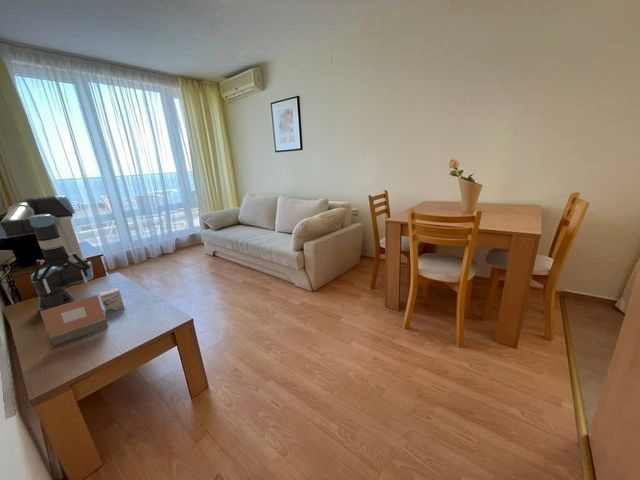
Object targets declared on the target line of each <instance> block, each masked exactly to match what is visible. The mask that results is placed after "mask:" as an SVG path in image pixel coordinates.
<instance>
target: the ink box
mask: <svg viewBox="0 0 640 480" xmlns="http://www.w3.org/2000/svg"><path fill="white" fill-rule="evenodd" d="M99 297H100V299H101V302H102V306H103V308H104V312H105V314H110V313H113V312H116V311H119V310H120V311H121V310H122V309H123V310H124V309H125V304H124V302H123V299H122V295H121V293H120V290H119V287H115V288H111V289H107V290H105V291H101V292H99Z"/></svg>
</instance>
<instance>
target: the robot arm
mask: <svg viewBox="0 0 640 480" xmlns="http://www.w3.org/2000/svg"><path fill="white" fill-rule="evenodd" d="M75 213H76V212H75V209H74V207H73V204H72V203H71V201H70V199H69V198H68V197H67V196H65V195H51V196H50V195H48V196H37V197H29V198H24V199H21V200H19V201H16V202H14V203H12V204H11V205H10V206H9V207H8V208H7V213H6V214H5V216H4V217H3V218H2V219H1V220H0V239H1V240H2V239H8V238H14V237H21V236H27V235H35V237H36V240H37V242H38V245H39V247H40V249H41V252H42V255H43V257H44V259H41V260H40V259H37V260H36V261H35V264H36V268H35V271H34V272H33V273H31V275H30V279H31V284H33V287H34V289H35V291H36V293H37V296H38V307H37V308H38V310H39V312H40V311H44V310H47V309H50V308H54V307H57V306H61V305H64V304H68V303H71V302H74V301H75V298H74V297H73V295H72V293H71V292H69V291H68V290H67V289H66V287H67V286H71V285H75V284H79V283H82V282H83V283H84V284H88V281H90V280H92V279H94V270H93V265H92V261H88V259H87V258H86V257H84V256H83V253H82V251H81V247H80V244H79V241H78V239H77V234H76V232H75V229H74V226H73V223H72V219H73V218H74V216H73V215H74V214H75ZM44 263H46V264H48V265H47V266H46V267H44V268H41V266H42V265H44ZM59 266H61V267H59Z"/></svg>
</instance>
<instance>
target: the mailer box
mask: <svg viewBox="0 0 640 480" xmlns="http://www.w3.org/2000/svg"><path fill="white" fill-rule="evenodd" d="M102 310H103V313H104V316H105V319H104V320H101V321H98V322H95V323H93V324H90V325H87V326H84V327H81V328H78V329H75V330H72V331H69V332H66V333H64V334H61V335H58V336H55V337H52V338H50V340H51V342H52V345H53V346H54V347H55V346H58V345H61V344H65V343H67V342H70V341H73V340H75V339H77V338H81V337H84V336H86V335H89V334H91V333H95V332H98V331H100V330H103V329H106V328H108V327H109V324H108V320H107V315H106V311H105V309H102Z"/></svg>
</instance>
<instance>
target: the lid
mask: <svg viewBox="0 0 640 480" xmlns="http://www.w3.org/2000/svg"><path fill="white" fill-rule="evenodd" d="M103 310H104V309H103V308H102V305H101V301H100V299H99V296H98V294H96V295H93V296H90V297H85V298H82V299H79V300H74V301H73V302H71V303H68V304H64V305H61V306H57V307H54V308H50V309H47V310H44V311H40V310H39V313H40V314H39V315H40V316H41V319H42V321H43V325H44V326H45V329H46V332H47V334H48V337H49V339H51V338H52V337H55V336H58V335H61V334H64V333H66V332H69V331H72V330H75V329H78V328H81V327H84V326H87V325H90V324H93V323H95V322H98V321H101V320H104V319H105V316H104V313H103Z"/></svg>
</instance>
